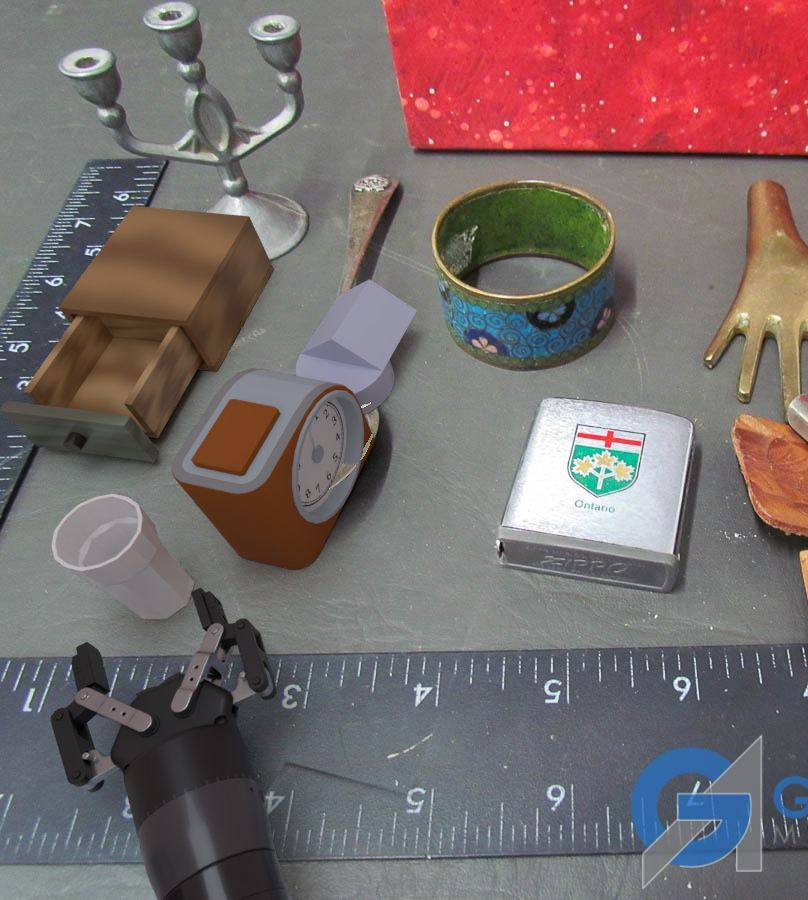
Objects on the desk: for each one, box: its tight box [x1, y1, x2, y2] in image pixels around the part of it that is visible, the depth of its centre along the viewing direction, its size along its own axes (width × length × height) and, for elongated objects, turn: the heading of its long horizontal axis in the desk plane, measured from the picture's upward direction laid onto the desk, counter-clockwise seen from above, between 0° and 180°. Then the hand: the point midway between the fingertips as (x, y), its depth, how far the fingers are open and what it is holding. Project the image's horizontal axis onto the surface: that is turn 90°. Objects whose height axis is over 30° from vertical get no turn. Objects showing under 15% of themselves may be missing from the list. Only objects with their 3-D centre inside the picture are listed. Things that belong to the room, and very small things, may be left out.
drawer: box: [0, 315, 203, 463], centre depth 80 cm, size 16×12×6 cm
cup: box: [51, 493, 196, 620], centre depth 67 cm, size 7×7×11 cm
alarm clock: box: [171, 367, 376, 570], centre depth 71 cm, size 15×8×14 cm, turn 166°
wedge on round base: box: [295, 278, 418, 415], centre depth 83 cm, size 9×7×13 cm
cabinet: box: [58, 205, 275, 372], centre depth 88 cm, size 16×14×8 cm
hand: (144, 620), depth 63 cm, fingers open, 8 cm apart
